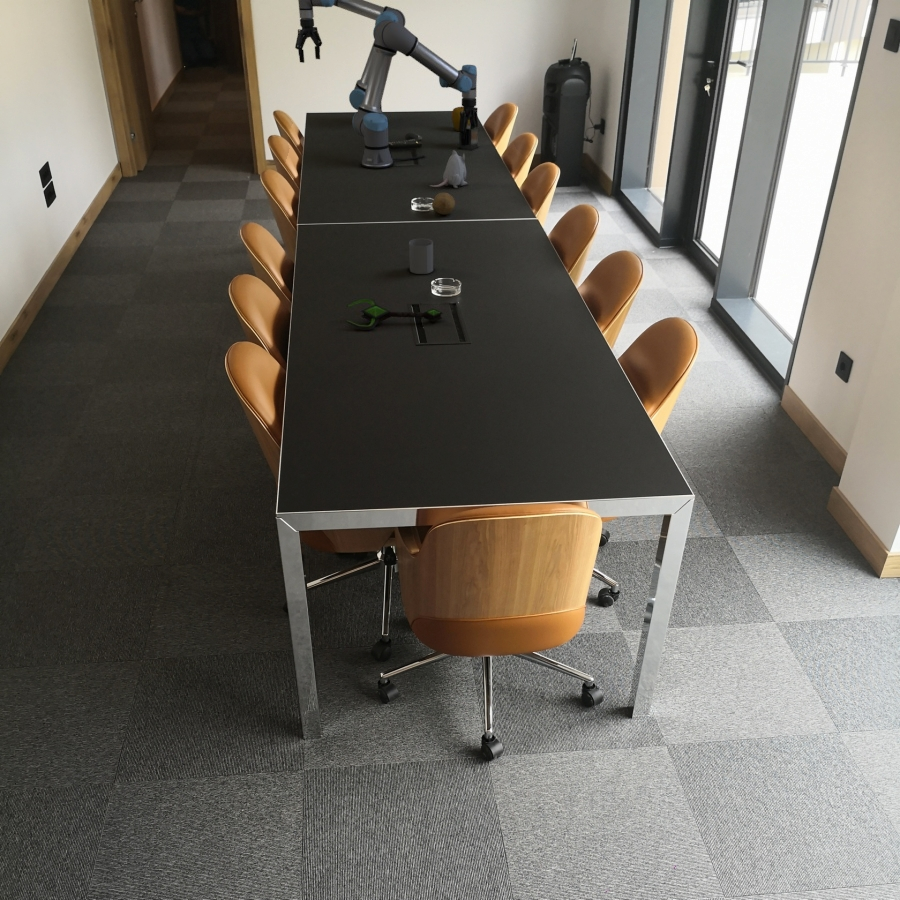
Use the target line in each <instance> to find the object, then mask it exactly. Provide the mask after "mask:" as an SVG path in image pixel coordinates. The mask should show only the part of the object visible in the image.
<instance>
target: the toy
mask: <svg viewBox="0 0 900 900" xmlns="http://www.w3.org/2000/svg"><path fill="white" fill-rule="evenodd" d="M466 178H467V168H466V156H465V153H463V154H462V155H459V154H458V153H457V151H456V150H455V149H453V150H452V153H451V155H450V156H449V158H448V161H447V163H446V166H445V170H444V171H443V177H442V179H443V181H442V182H441V183H439V184H436V185H435V184H433V185H432V184H430V185H428V186H429V187H434V188H440V187H443V186H446V187H448V186H449V185H451V186H453V188H455V189H459V187H458V186H461V187H462V186H467V185H468V182H467V181H465V180H466Z"/></svg>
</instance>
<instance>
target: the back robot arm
mask: <svg viewBox="0 0 900 900" xmlns="http://www.w3.org/2000/svg"><path fill="white" fill-rule="evenodd" d="M297 1H298V10H299V12H298V13H299V26H300V27H301V29H297V36H296V42H295V46H294V48H295V49H296V50H297V51H298V57H299V63H301V64H304V63H305V55H304V54H305V53H304V52H305V51H304V49H303V48H304V46H305V43H306V41H307V39H308V38H310V39H311V41H312V42H313V44H314V45H315V46H314V55H315V60H321V46H322V45H323V40H322V39H321V36H320V33H319V30H318V27H317V26H315V19H314V18H315V17H314V16H315V14H314V8H315V7H316V8H332V7H337V8H340V9H342V10H345V11H348V12H351V13H354V14H357V15H359V16H362V17H365V18H368V19H370V20H373V21H375V22H374V26H375V25H376V24H377V23H378V22H379V21H381V20H388V19H389V20H392V21H394V22H398V23H400V24H402V25H403V26H404V27H406V16H405V15H404V13H403V12H402V11H401V10H400V9H397V8H394V7H391V6H387V5H385V6H381V5H379V4H376V3H373V2H370V1H367V0H297ZM373 44H374V42H373V43H372V46H371V49H370V51H369V54H368V57H367V59H366V60H367V61H366V63H365V66H364V69H363V71H362V74H361V76H360V78H359V79H357V80H356V82H355V86H354V88H353V89H352V90H351V91H350V93H349V95H348V100H349V104H350V106H351V107H352V108H353V109H354V110H356V111H358V108H359V105H360V104H362V103H363V100H364V96H365V92H366V88H367V84H368V79H369V75H370V71H371V67H372V62H373V58H374V54H375V50H374V48H373ZM382 107H383V106H382V104H381V105H380V110H381V112H382V114H383V115H384V112H383V109H382Z"/></svg>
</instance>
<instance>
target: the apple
mask: <svg viewBox="0 0 900 900" xmlns="http://www.w3.org/2000/svg"><path fill="white" fill-rule="evenodd" d="M463 110H464V107H463V106H462V105H461V106H457V107H454V108H452V111H451V121H452V125H453V128H454V129H455V131H457V132H459V124H460V112H463ZM467 125H468V126H470V125H471V124H470V119H469V120H468V124H467Z"/></svg>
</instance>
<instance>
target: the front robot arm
mask: <svg viewBox="0 0 900 900" xmlns="http://www.w3.org/2000/svg"><path fill="white" fill-rule="evenodd" d="M372 35H373V39H374V40H373V43H374V44H373V43H372V46H373V48H374V50H375V54H374V58H373V62H372V67H371V71H370V75H369V79H368V84H367V88H366V92H365V96H364V100H363V103H362V104H360V105H359V108H358V110H357V111H356V112H355V113H354V115H353V117H352V121H351V123H352V127H353V130H354V131H355V132H356V134H358V135H359V136H361V137H363V138H364V139H363V140H364V151H363V155H362V159H361V166H362V167H363V168H366V169H371V170H381V169H387V168H390V167H392V166H394V161H402V162H403V161H411V160H416V159H422V158H425V157H426V156H425V155H418V156H413V157H406V158H392V155H391V152H390V151H391V150H390V147H389V145H390V144H389V122H388V118H387V116H386V115H385V114H384V113H383V114H382V112H383V111H382V112H381V110H380V105H381V106H382V102H383V101H382V100H383V96H384V93H385V92H384V91H385V88H386V84H387V80H388V78H389V77H388V76H389V72H390V68H391V64H392V60H393V57H394V56H396V55H398V54H397V53H398V52H399V53H401V54H403V55H404V56H405V57H411V58H412V59H413V60H414V61H416V62H417V63H418V64H420V65H421V66H423V67H425V68H426V69H427V70H429V71H431V72H432V73H433V74H434V75H436V76H437V77H438V83H439V86H440V87H441V88H443V89H444V88H445V89H449V88H451V89H453V90H455V91H458V92H459V93H461V97H462V98H461V106H462V107H464V110H463V112H460V124H459V131H458V132H461V138H462V139H461V145H463V146H467V133H466V129H467V124H468V120H469V119H470V124H469V125H470V126H475V127H478V128H479V117H478V110H479V109H478V107H476V106H477V83H478V80H477V77H478V70H477V66H476V65H474V64H463V65H462V66H461V69H459V70H458V69H457V68H456V67H454V66H453V65H452V64H450V63H449V62H448V61H446V60H445V59H443V58H442V57H440V55H438V54H436V53H435V52H434V51H432V50H431V49H430V48H428V47H427V46H425V44H423V43H422V42H421V41H419V38H418V37H417V36H416V35H415V34H413V33H412V32H411V31H410V30H409V29H408V28H407V27H406V26H403V25H402V24H400V23H398V22H394V21H392V20H389V19H388V20H381V21H379V22H378V23H377V24H376V25H375V24H374V27H373V32H372Z"/></svg>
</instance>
